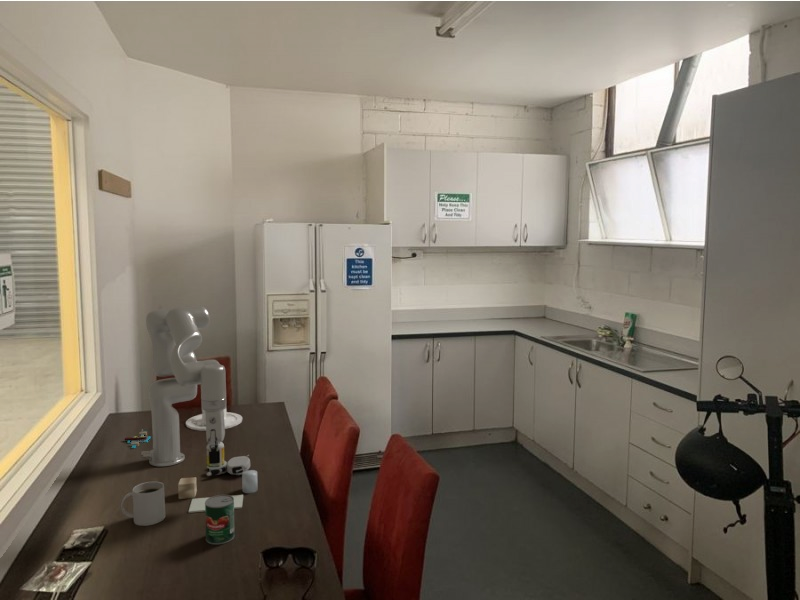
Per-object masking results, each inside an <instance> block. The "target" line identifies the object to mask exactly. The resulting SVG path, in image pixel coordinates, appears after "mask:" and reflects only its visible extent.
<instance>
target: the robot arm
mask: <svg viewBox="0 0 800 600" xmlns="http://www.w3.org/2000/svg"><path fill="white" fill-rule="evenodd" d="M145 318H146V319H145V325H146V329H147V331H148V334H149V338H150V340H151V369H152V373H153V375H154V376H156V377H161V379H158V380H155V381H153V382H151V383H150V385H148V389H147V395H148V400H149V404H150V411H151V425H152V426H151V427H152V430H151V431H152V449H150V450H141V452H140V453H141V454H140V455H141V457H143V459H147V458H149V460H148V462H149V463H148V464H149V465H151V466H153V467H171V466H174V465H177V464H180V463H182V462H184V460H185V459H186V458H185V454H184V453H183V452H181V438H180V437H181V435H180V414H179V412H178V410H177V409H176V408H175V407H173V404H177V403H183V402H187V401H188V402H189V401H192V400H194V399H195V398H196V397H197V395H198V385H199V386H200V400H201V402H200V404H201V411H202V410H203V411H205V415H206V431H205V434H206V435H205V436H206V437H205V438H206V442H207V443H208V444H209V463H210V464H214V463H220V450H219V441H221V442H222V443H223V441H224V439H225V435H226V429H225V424H224V409H226V410H227V383H226V381H227V379H226V375H227V374H226V368H225V365H223V364H220V362H219V361H218V360H217V359H205V360H197V356H196V354H195V350H198V348H199V347H200V346H201V344H202V343H203V335H202V334H201V331H200V330H206V329H207V328H209V326H210V324H211V316H210V313H209V311H208V310H207V308H206V307H204V306H202V305H190V306H177V307H174V308H172V307H171V308H158V309H154V310H151V311H150V312H148V313H147V315H146V317H145ZM169 376H170V377H169ZM171 376H174V377H171ZM162 377H169V378H163V379H162ZM215 439H217V441H215ZM215 443H217V445H215Z"/></svg>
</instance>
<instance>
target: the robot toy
mask: <svg viewBox="0 0 800 600" xmlns="http://www.w3.org/2000/svg"><path fill="white" fill-rule="evenodd" d="M249 456H250V454H248V455H242V456H234V457H232V458H230V459H229V460H228V461H226V460H224V466H223V467H222V468H220V469H209V468H207V471H208V472H207V473H206V476H207V477H210V476H212V477H213V476H220V475H222V474H226V473H229V474H230V475H236V476H240V475H241V476H242V473H243V472H244V471H248V470H249V469H250V468H251V466H252V465H251V459H250V458H249Z"/></svg>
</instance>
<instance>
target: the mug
mask: <svg viewBox="0 0 800 600" xmlns="http://www.w3.org/2000/svg"><path fill="white" fill-rule="evenodd" d="M129 497H132V512H133V513H129V512H128V511H126V509H125V501H126V500H127V498H129ZM165 501H166V499H165V484H164V482H160V481H146V482H142V483H139V484H137V485H135V486H133V488H132V490H131V491H130V492H128V493H127V494H125V495H124V497H123V498H122V500H121V504H120V509H121V513H122V514H123V515H124V516H125V517H126V518H130V519H133V523H134V524H135V525H136V526H139V527H141V526H143V527H145V526H147V527H148V526H152V525H156V524H158V523H160V522H162V521H164V519H165V518H166V502H165Z"/></svg>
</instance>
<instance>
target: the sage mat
mask: <svg viewBox="0 0 800 600" xmlns="http://www.w3.org/2000/svg"><path fill="white" fill-rule="evenodd" d="M231 496H232V497H233V498H234V510H239V509H242V508H243V502H244V494H236V495H231ZM208 498H210V497H198V498H196V497H195V498H191V502H190V505H189V508H188V514H190V513H191V514H192V513H203V512H205V501H206V500H207V499H208Z"/></svg>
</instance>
